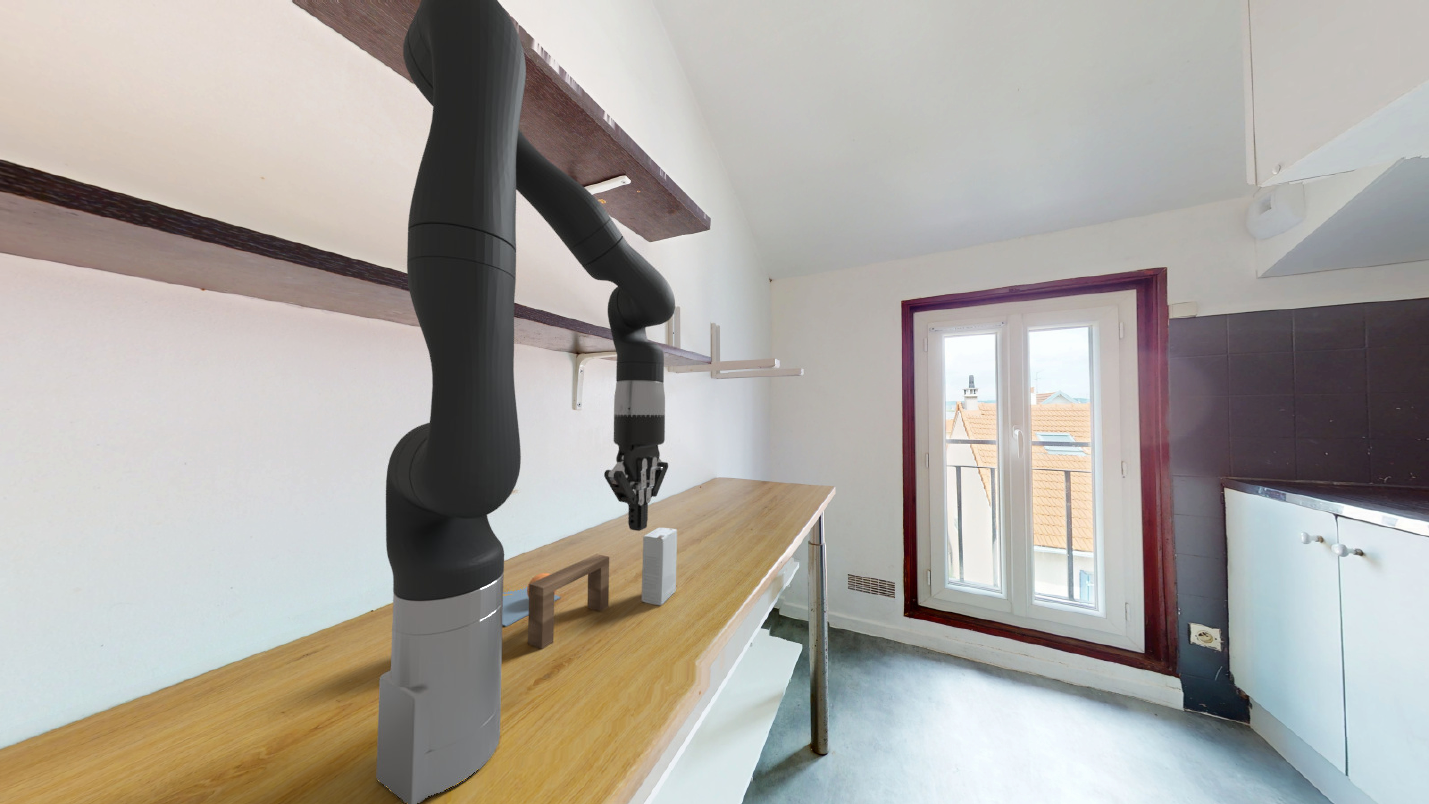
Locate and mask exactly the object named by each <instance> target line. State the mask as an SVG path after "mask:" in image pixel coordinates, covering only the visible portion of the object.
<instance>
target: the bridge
mask: <svg viewBox="0 0 1429 804" xmlns="http://www.w3.org/2000/svg"><path fill="white" fill-rule="evenodd" d="M549 574H550V575H548V576H546V577H544V578H542V579H539V580H537V581H535V582H533V583H530V584H529V583H528V584H529V615H528V617H527V619H528V625H527V626H528V629H527V644H528V645H530V646H533V647H535V648H537V649H538V648H539V649H541V650H543V649H545V648H546V647H548V646H549V645H551V644H553V643H554V637H555V636H554V634H555V633H554V628H555V627H554V626H555V625H554V624H555V601H554V591H555V590H559V589H561V588H564V587H565V586H567V585H569V584H571V583H574V582H575V581H577V580H579V579H581V578H583V577H586V576H587V605H586V606H587V609H591V610H594V611H597V612H602V611H604V610H606V609H607V608H608V607H610V605H609V600H610V599H609V597H610V595H609V593H610V590H609V589H610V586H609V585H610V556H607V555H603V554H598V553H596V554H593V555H591V556H589V557H586V558H585V559H582V560H580V561H577V562H575V563H573V564H570V565H568V566H566V567H565V568H562V569H559V570H558V571H555V572H553V573H549Z"/></svg>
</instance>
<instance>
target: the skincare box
mask: <svg viewBox="0 0 1429 804" xmlns="http://www.w3.org/2000/svg"><path fill="white" fill-rule="evenodd" d="M642 538H643V539H642V541H643V544H642V571H641V572H642V573H641V574H642V575H641V577H642V578H641V579H642V580H641V602H643V603H646V604H650V605H655V606H662V605H664V603H666V602H667V600H669V599H670V597H671V596H672V595H674V593H675V592H676V591H677V547H678V546H677V545H678V544H677V543H678V529H677V528H668V527H657V528H655V529H654V530H652V531H650V532H649V533H646V534H645V535H643V537H642Z"/></svg>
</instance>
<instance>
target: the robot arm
mask: <svg viewBox="0 0 1429 804" xmlns="http://www.w3.org/2000/svg"><path fill="white" fill-rule="evenodd" d="M402 47H403V48H402V50H403V51H402V55H403V60H404V64H405V68H406V70H407V72H408V74H409V77H410V78H411V81H412V82H413V83H414V85H415V86H416V88H417V89H418V90H419V92H420V93H421V94H422V96H423V97H424V98H425V99H426V100H427V101H428V103H429V104H430V105H431V106H432V114H431V115H432V116H431V123H430V127H429V128H430V129H429V133H428V136H427V141H426V143H425V146H424V150H423V153H422V157H421V160H420V161H421V162H420V164H419V167H418V170H417V171H418V172H417V176H416V180H415V184H414V187H413V191H412V192H413V193H412V198H411V201H410V207H409V208H410V209H409V215H408V223H407V248H406V249H407V251H406V252H407V253H406V254H407V255H406V256H407V257H406V271H407V284H408V290H409V294H410V295H409V296H410V299H411V302H412V305H413V309H414V313H415V315H416V318H417V321H418V323H419V327H420V329H421V332H422V336H423V338H424V341H425V344H426V347H427V349H428V350H427V351H428V354H429V360H430V365H431V374H432V376H431V377H432V381H431V382H432V383H431V384H432V388H431V403H430V415H429V422H426V423H424V424H421V425H418V426H416V427H414V428H413V429H411V430H410V431H408V432H407V433H406V434H405V435H404V436H402V437H401V438H400V440H399V441H398V442H397V443H396V445H395V446H394V448H393V450H392V451H391V453H390V457H389V459H388V463H387V469H386V479H385V480H386V481H385V544H386V554H387V558H388V562H389V565H390V567H391V572H392V579H393V580H392V582H393V584H392V585H393V586H392V589H393V591H392V592H393V596H392V598H393V599H392V626H391V627H392V628H391V652H390V653H391V655H390V670H388V671H385V672H384V673H383V674H381V676H380V677H379V690H378V691H379V692H378V714H377V715H378V719H377V721H378V722H377V745H376V748H377V749H376V750H377V751H376V775H375V776H376V777H375V779H376V778H377V779H378V780H379V781H380V782H381V783H382V784H384V786H383V787H385V786H387V787H388V788H389V789H390V790H391V791H392V792H393V793H394V794H396V795H397V796H398V797H399V798H401V799H402V800H403V801H404V802H405V803H408V804H417V803H419V804H420V803H422V802H423V801H424V800H426V799H427V798H429V797H428V796H430V797H432V796H435V795H436V793H438V794H441V793H443V792H445V791H444V790H445V789H447V788H449V787H451V786H454V785H456V784H457V783H459V782H460V781H462V780H464V779H465V778H468V777H469V776H470V775H472V774H473V773H474V772H475V773H476V771H477V769H479V770H481V768H482V767H484V765H485V764H487V762H488V761H489V760H490V759H491V757H492V756H493V754H494V753H495V751H496V750H497V748H498V745H499V743H500V738H501V711H502V710H501V707H502V706H501V705H502V704H501V702H502V701H501V700H502V698H501V696H502V662H503V661H502V659H503V657H502V656H503V626H502V617H503V592H504V578H505V577H504V573H505V571H504V570H505V550H504V546H503V543H502V542H501V541H500V540H499V538H498V537H497V535H496V534H495V532H494V530H493V529H492V526H491V525H490V521H489V519H488V515H489V514H492V513H493V512H495V511H496V510H498V509H499V508H500V507H501V506H503V504H505V502H506V501H507V500H508V499H509V497H510V496H511V495H512V492H513V491H514V489H515V488H516V485H517V483H518V479H519V476H520V470H521V460H522V459H521V458H522V456H521V455H522V454H521V440H520V439H521V438H520V430H519V429H520V428H519V421H518V420H519V418H518V409H517V399H516V388H515V373H514V372H515V371H514V367H515V366H514V365H515V364H514V363H515V362H514V361H515V296H516V295H515V293H516V284H517V283H516V282H517V278H516V277H517V238H516V237H517V235H516V234H517V233H516V230H517V229H516V228H517V227H516V224H517V223H516V222H517V221H516V220H517V218H516V217H517V213H516V212H517V192H518V193H519V194H520V195H522V197H523V198H524V199H525V200H526V201H527V202H528V203H529V204H530V205H531V206H532V207H533V208H534V209H535V210H536V212H537V213H539V215H540V216H541V217H542V219H544V220H545V222H546V223H547V224H548V225H549V227H550V228H551V229H552V230H553V231H554V232H555V233H556V235H557V236H558V238H559V239H560V240H561V241H562V243H563V244H564V245H565V246H566V248H567V249H568V250H569V251H570V253H571V254H572V255H573V256H574V258H575V259H576V260H577V262H578V263H579V264H580V265H581V267H582V268H583V269H584V271H585V272H586V273H587V274H588V275H589V276H590V277H591V278H593V279H594V280H597V281H607V282H611V283H613V284H615V285H616V286H617V287H615V288H614V289H613V290H612V291H611V294H610V296H609V299H608V302H607V317H608V318H607V319H608V325H609V328H610V333H611V336H612V342H613V345H614V348H615V353H616V374H615V375H616V377H615V379H616V380H615V381H616V383H615V389H614V399H613V402H614V403H613V444H615V445H617V446H618V451H617V454H616V457H615V460H616V464H615V465H614V467H613V468H612V469H606V470H605V471H604V474H603V476H604V478H605V480H606V482H607V483H608V485H609V487H610V488H611V490H612V492H613V494H614V496H615V497H616V499H617V500H618V502H621V503H625V504H627V506H628V511H627V512H628V513H627V514H628V518H627V519H628V521H627V523H628V528H629V529H630V531H636V532H640V531H643V530H645V529H646V528H647V527H648V520H649V518H648V517H649V516H648V515H649V510H648V509H649V504H650V502H651V500H652V497H653V498H654V497H655V498H656V497H657V496H658V493H659V492H660V489H661V486H662V483H663V481H664V479H665V476H666V474H667V471H668V469H669V463H668V462H665V461H662V460H661V458H660V457H661V455H660V454H661V453H660V450H659V445H660V446H661V445H663V444H664V442H665V439H666V437H665V434H666V431H665V430H666V429H665V428H666V423H665V422H666V396H665V395H666V394H665V386H664V375H665V374H664V373H665V371H664V370H665V367H664V366H665V356H664V351H663V348H662V347H661V346H660V345H659V344H657V343H654V342H650V341H649V339H648V336H647V332H646V331H647V330H646V328H649V327H654V326H658V325H659V326H660V325H663V324H665V323H667V322H668V321H669V320H670V319H672V317H673V315H674V314H675V310H676V300H675V295H674V292H673V289H672V287H671V285H670V284H669V282H668V281H667V280H666V278H665V277H664V276H663V275H662V274H661V273H660V271H658V270H657V269H656V267H654V266H653V265H652V264H651V263H650V262H649V261H648V260H647V259H646V258H645V257H644V256H642V254H641V253H639V251H637V250H635V248H633V247H632V246H631V245H630V244H629V243H628V241H627V240H626V239H625V236H624V235H623V234H622V233H621V231H620V229H619V228H618V226H617V225H616V224H615V223H614V220H613V219H612V217H611V216H610V215H609V214H608V212H607V210H606V209H605V208H604V206H603V205H602V204H601V202H600V201H599V200H598V199H597V198H596V197H595V196H594V195H593V193H591V192H590V191H589V190H588V189H586V187H584V186H583V185H582V184H581V183H579V182H578V181H577V180H575V179H574V178H573V177H571V176H570V175H569V174H567V172H565V171H563V170H561V169H560V168H559V167H558V166H556V165H555V164H554V163H553V162H552V161H550V160H549V159H548V158H546V157H545V155H543V154H542V153H541V152H540V151H539V150H538V149H537V148H536V147H535V146H534V145H533V144H532V143H531V142H530V141H529V139H528V138H527V137H526V136H525V135H524V133H523V132H522V131H521V129H520V122H521V121H520V120H521V113H522V107H523V102H524V101H523V99H524V93H525V87H526V78H527V66H526V65H527V64H526V58H525V52H524V47H523V45H522V41H521V38H520V36H519V32H518V31H517V29H516V27H515V24H514V22H513V21H512V19H511V18H510V16H509V14H508V12H507V11H506V10H505V8H504V7H503V5H502V4H501V3H500V2H499V1H498V0H421V1H420V3H419V4H418V7H417V9H416V12H415V14H414V16H413V19H412V21H411V23H410V24H409V27H408V30H407V32H406V34H405V37H404V40H403V46H402ZM477 772H478V771H477ZM475 773H474V774H475ZM474 774H473V775H474ZM473 775H472V776H473ZM469 778H470V777H469ZM469 778H468V779H469ZM377 779H376V780H377ZM379 781H378V782H379ZM464 781H465V780H464ZM380 782H379V783H380ZM381 783H380V784H381ZM382 784H381V785H382ZM456 786H457V785H456ZM454 787H455V786H454ZM390 790H389V791H390ZM391 791H390V792H391ZM392 792H391V793H392ZM440 792H441V793H440ZM393 793H392V794H393ZM394 794H393V795H394ZM434 794H435V795H434ZM396 795H395V796H396ZM431 795H432V796H431ZM397 796H396V797H397ZM398 797H397V798H398ZM399 798H398V799H399ZM425 798H426V799H425ZM401 799H400V800H401ZM402 800H401V801H402ZM403 801H402V802H403ZM404 802H403V803H404ZM405 803H404V804H405Z"/></svg>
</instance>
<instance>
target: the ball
mask: <svg viewBox="0 0 1429 804" xmlns="http://www.w3.org/2000/svg"><path fill="white" fill-rule="evenodd" d="M550 574H551V573H547V572H542V573H538V574H537V575H535V576H533V577H532V578H531V579H530V581H529V582H528V584H527V586H526V587H527V595H528V597H529V584H530V583H533V582H535V581H537V580H539V579H542V578H544V577H546V576H548V575H550ZM557 590H558V589H557ZM557 590H555V591H554V595H556V593H557Z"/></svg>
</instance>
